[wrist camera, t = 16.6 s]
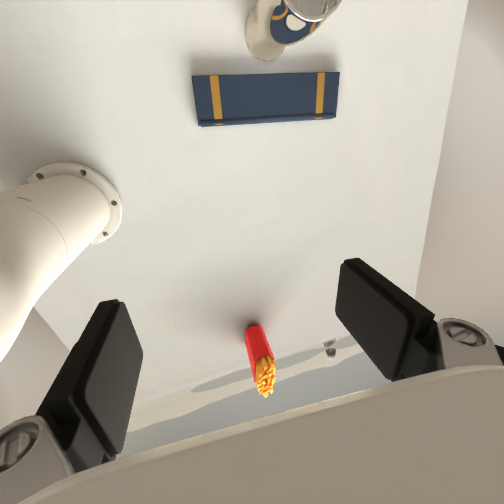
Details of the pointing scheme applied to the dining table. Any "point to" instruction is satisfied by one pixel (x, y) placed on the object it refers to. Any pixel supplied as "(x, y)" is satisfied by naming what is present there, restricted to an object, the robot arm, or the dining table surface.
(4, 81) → the dining table surface
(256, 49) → the beer glass
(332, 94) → the blue striped flat box
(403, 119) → the dining table surface
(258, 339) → the french fries
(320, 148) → the dining table surface
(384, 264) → the dining table surface
